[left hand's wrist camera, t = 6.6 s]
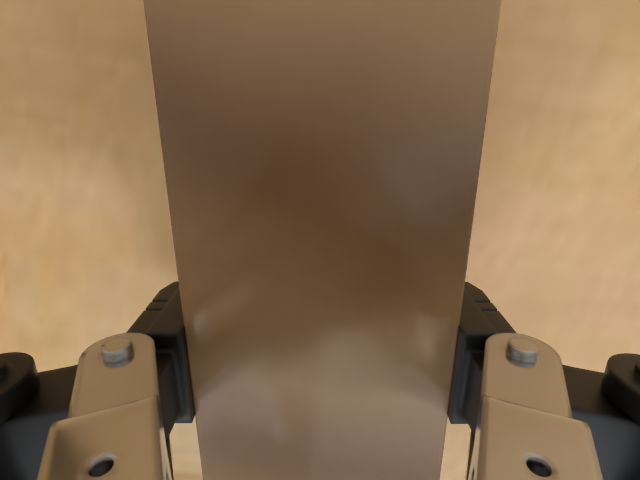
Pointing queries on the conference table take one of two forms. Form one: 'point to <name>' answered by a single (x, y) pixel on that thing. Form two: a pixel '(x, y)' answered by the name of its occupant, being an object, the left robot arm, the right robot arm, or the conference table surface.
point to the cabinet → (321, 223)
